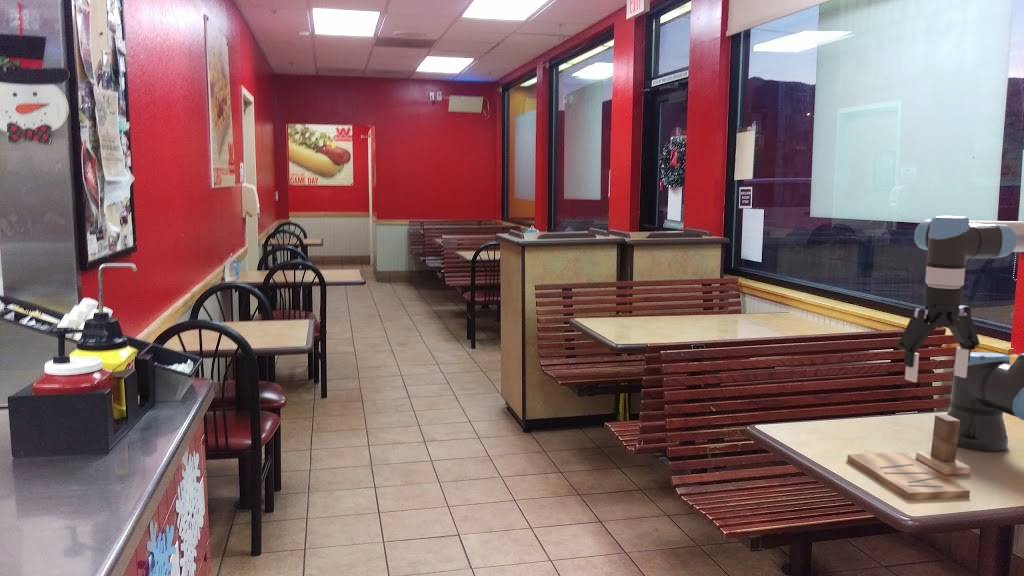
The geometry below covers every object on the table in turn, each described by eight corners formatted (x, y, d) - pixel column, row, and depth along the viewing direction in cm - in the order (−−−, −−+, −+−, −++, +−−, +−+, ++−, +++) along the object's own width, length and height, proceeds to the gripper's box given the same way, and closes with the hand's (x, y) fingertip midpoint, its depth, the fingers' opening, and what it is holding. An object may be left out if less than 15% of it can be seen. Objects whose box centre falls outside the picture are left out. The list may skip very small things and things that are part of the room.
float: (938, 459, 184) (944, 410, 182) (969, 475, 174) (975, 424, 172) (915, 460, 183) (920, 411, 181) (945, 476, 173) (951, 425, 171)
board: (901, 458, 183) (902, 452, 183) (969, 497, 162) (970, 489, 161) (847, 460, 181) (847, 454, 181) (908, 499, 159) (909, 492, 159)
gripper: (975, 281, 178) (966, 370, 182) (884, 285, 172) (877, 378, 175) (1003, 286, 171) (994, 378, 175) (910, 290, 165) (902, 387, 168)
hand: (935, 378), depth 175 cm, fingers open, 13 cm apart
